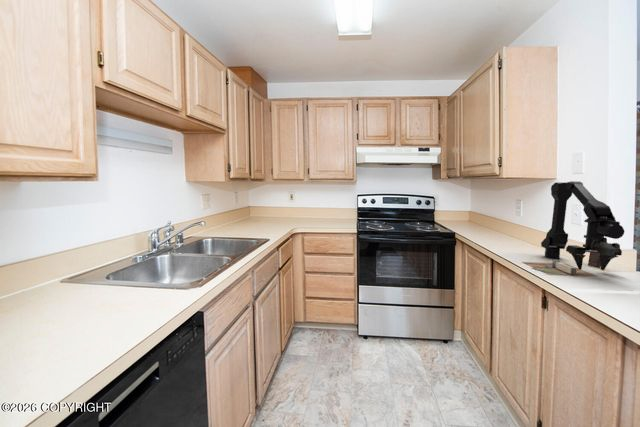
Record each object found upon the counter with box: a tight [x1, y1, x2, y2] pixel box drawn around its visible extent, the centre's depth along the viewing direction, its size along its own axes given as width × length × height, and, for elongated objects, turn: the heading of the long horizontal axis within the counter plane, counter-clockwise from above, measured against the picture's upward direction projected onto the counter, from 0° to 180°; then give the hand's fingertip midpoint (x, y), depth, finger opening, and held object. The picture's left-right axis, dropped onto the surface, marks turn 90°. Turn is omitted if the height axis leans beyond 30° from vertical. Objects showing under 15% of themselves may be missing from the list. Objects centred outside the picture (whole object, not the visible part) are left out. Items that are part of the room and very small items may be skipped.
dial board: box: [521, 261, 599, 278], centre depth 139 cm, size 20×21×1 cm
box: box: [587, 252, 601, 270], centre depth 145 cm, size 6×4×12 cm
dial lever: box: [551, 259, 577, 275], centre depth 135 cm, size 13×3×3 cm, turn 176°
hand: (591, 269), depth 133 cm, fingers open, 9 cm apart
